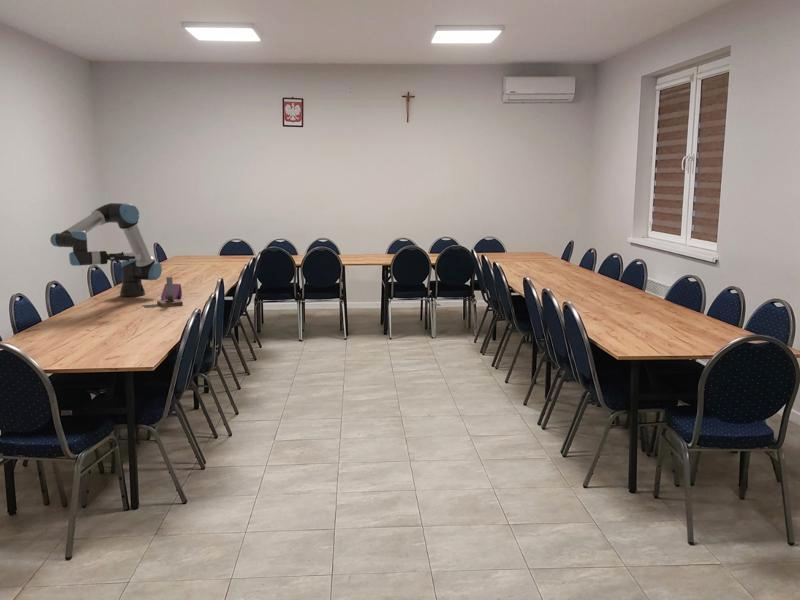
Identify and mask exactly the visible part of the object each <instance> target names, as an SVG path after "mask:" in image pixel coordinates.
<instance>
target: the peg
mask: <svg viewBox="0 0 800 600" xmlns="http://www.w3.org/2000/svg"><path fill="white" fill-rule="evenodd" d="M165 279H166V284H167V300H168V302H174V300H173V284H174V283H173V280H174V279H173V276H166V277H165Z"/></svg>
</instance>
